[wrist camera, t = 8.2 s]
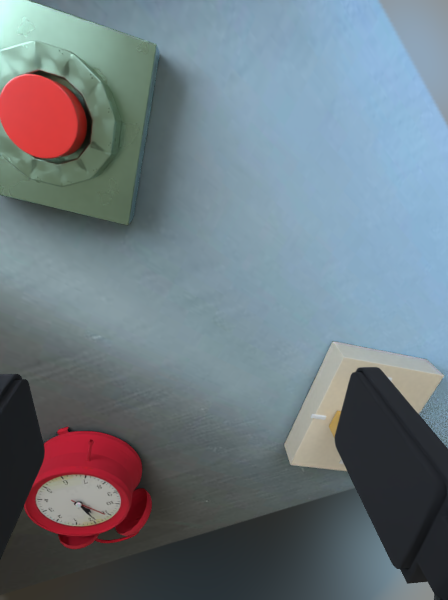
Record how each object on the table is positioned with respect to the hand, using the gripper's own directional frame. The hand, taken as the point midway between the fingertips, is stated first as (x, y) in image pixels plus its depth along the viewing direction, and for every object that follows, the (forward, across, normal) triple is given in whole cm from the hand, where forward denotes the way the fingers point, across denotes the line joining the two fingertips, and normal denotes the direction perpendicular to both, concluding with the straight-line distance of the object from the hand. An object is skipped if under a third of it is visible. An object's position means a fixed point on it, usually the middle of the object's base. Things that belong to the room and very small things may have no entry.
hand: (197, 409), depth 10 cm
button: (+13, +7, -8) cm, 17 cm away
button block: (+17, +7, -8) cm, 20 cm away
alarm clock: (+17, +9, +25) cm, 31 cm away
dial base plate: (+17, -16, +16) cm, 28 cm away
